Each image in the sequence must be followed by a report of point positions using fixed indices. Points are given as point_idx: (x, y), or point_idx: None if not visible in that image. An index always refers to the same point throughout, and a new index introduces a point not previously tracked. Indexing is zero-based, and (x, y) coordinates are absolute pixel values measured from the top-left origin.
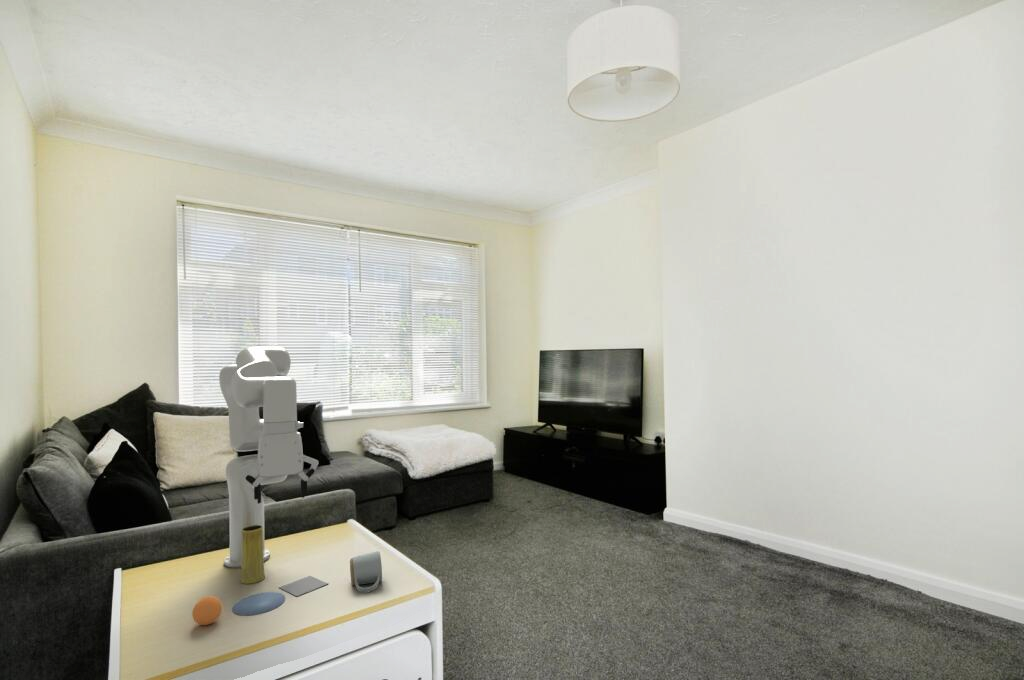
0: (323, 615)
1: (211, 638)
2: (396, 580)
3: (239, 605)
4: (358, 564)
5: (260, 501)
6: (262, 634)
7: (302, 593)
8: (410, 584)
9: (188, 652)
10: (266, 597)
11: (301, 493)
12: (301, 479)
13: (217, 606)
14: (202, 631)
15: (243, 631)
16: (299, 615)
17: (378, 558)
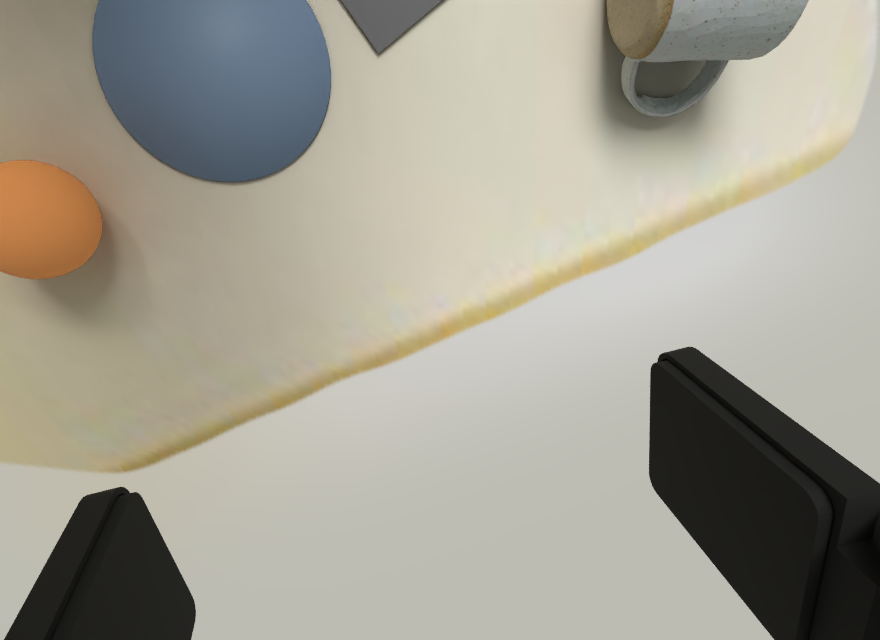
0: (494, 255)
1: (140, 323)
2: None
3: (128, 70)
4: (686, 40)
5: (190, 626)
6: (315, 334)
7: (399, 30)
8: (802, 87)
9: (105, 392)
10: (234, 14)
11: (681, 518)
12: (842, 523)
13: (84, 249)
14: None
15: (241, 301)
16: (413, 233)
17: (786, 27)
